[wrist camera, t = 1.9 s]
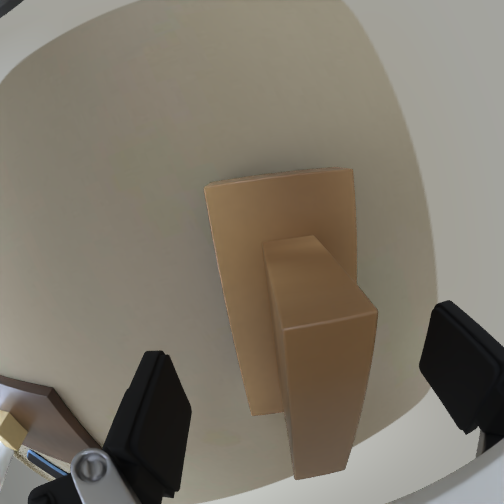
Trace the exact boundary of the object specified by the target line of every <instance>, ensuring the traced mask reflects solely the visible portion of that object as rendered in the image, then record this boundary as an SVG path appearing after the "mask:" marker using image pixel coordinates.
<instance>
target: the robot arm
mask: <svg viewBox="0 0 504 504" xmlns="http://www.w3.org/2000/svg"><path fill="white" fill-rule="evenodd" d="M419 368H420V371H421V373H422V374H423V376H424V377H425V379H426V380H427V381H428V383H429V384H430V386H431V387H432V389H433V390H434V391H435V393H436V394H437V396H438V397H439V399H440V400H441V402H442V403H443V405H444V406H445V408H446V409H447V411H448V412H449V414H450V416H451V417H452V419H453V420H454V422H455V423H456V425H457V426H458V428H459V429H460V430H463V431H464V433H465V434H466V435H467V434H468V433H470V432H472V431H473V430H475V429H476V428H477V427H478V426H479V428H480V436H479V442H478V448H477V453H476V458H475V459H474V460H472V461H471V462H469V463H468V464H466V465H465V466H463V467H461V468H460V469H458V470H456V471H455V472H453V473H451V474H449V475H447V476H446V477H444V478H442V479H440V480H438V481H436V482H434V483H433V484H430V485H428V486H426V487H424V488H422V489H420V490H418V491H416V492H413V493H411V494H409V495H407V496H404V497H402V498H399V499H397V500H394V501H392V502H389V503H386V504H504V347H503V346H501V344H500V343H499V342H497V341H496V340H495V339H494V338H493V337H492V336H491V335H490V334H489V333H488V332H487V331H486V330H484V329H483V328H482V327H481V326H480V325H479V324H478V323H476V322H475V321H474V320H473V319H472V318H470V316H468V315H467V314H466V313H465V312H464V311H463V310H461V309H460V308H459V307H458V306H457V305H455V304H454V303H453V302H452V301H450V300H448V301H444V302H442V303H438V304H436V305H435V307H434V309H433V310H432V313H431V318H430V322H429V327H428V331H427V336H426V340H425V344H424V348H423V352H422V355H421V359H420V362H419ZM191 414H192V410H191V405H190V403H189V401H188V399H187V396H186V394H185V392H184V389H183V387H182V385H181V383H180V380H179V378H178V375H177V373H176V371H175V368H174V366H173V363H172V361H171V358H170V356H169V355H165V354H164V352H163V351H146V352H145V353H144V355H143V358H142V360H141V362H140V364H139V366H138V369H137V371H136V373H135V375H134V378H133V380H132V382H131V385H130V387H129V388H128V389H127V391H126V392H125V394H124V397H123V399H122V401H121V404H120V406H119V408H118V411H117V413H116V416H115V418H114V420H113V423H112V425H111V428H110V430H109V433H108V435H107V438H106V441H105V443H104V446H103V448H102V450H100V449H97V448H88V449H84V450H82V451H81V452H79V453H78V454H77V455H76V456H75V457H74V458H73V460H72V462H71V467H70V470H71V473H69V474H66V475H64V476H62V477H60V478H57V479H55V480H53V481H50V482H48V483H45V484H43V485H40V486H38V487H36V488H34V489H33V490H32V491H31V492H30V495H29V497H28V504H161V502H162V497H169V498H174V493H175V492H178V491H179V489H180V484H181V477H182V470H183V464H184V457H185V451H186V445H187V438H188V432H189V426H190V420H191Z"/></svg>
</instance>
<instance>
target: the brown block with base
mask: <svg viewBox="0 0 504 504" xmlns="http://www.w3.org/2000/svg"><path fill="white" fill-rule="evenodd" d="M204 193H205V199H206V205H207V211H208V216H209V222H210V227H211V233H212V238H213V243H214V249H215V254H216V259H217V264H218V269H219V274H220V279H221V284H222V289H223V294H224V299H225V304H226V308H227V313H228V318H229V322H230V327H231V331H232V336H233V340H234V345H235V349H236V353H237V358H238V362H239V366H240V370H241V375H242V379H243V383H244V387H245V391H246V395H247V399H248V403H249V407H250V411H251V415H252V416H258V415H266V414H274V413H281V412H284V415H285V422H286V428H287V434H288V440H289V447H290V453H291V460H292V466H293V472H294V478H295V480H299V479H305V478H311V477H315V476H320V475H325V474H330V473H334V472H338V471H342V470H345V468H346V465H347V462H348V458H349V455H350V452H351V449H352V446H353V442H354V439H355V435H356V431H357V428H358V424H359V420H360V416H361V412H362V408H363V403H364V399H365V394H366V389H367V384H368V379H369V374H370V368H371V362H372V356H373V350H374V343H375V336H376V328H377V319H378V310H377V308H376V307H375V306H374V305H373V304H372V302H371V301H370V300H369V299H368V297H367V296H366V295H365V294H364V293H363V291H362V290H361V289H360V288H359V287H358V285H357V232H356V206H355V190H354V177H353V169H348V168H340V167H328V168H317V169H306V170H296V171H287V172H278V173H270V174H262V175H255V176H248V177H241V178H234V179H228V180H221V181H215V182H210V183H209V184H208V185H206V186H205V187H204Z"/></svg>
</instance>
